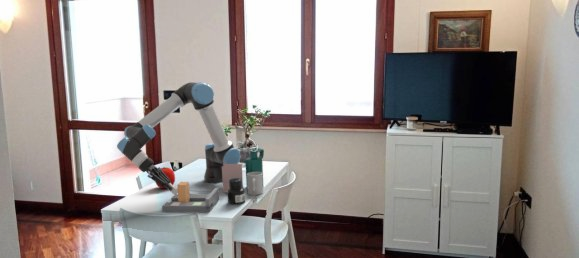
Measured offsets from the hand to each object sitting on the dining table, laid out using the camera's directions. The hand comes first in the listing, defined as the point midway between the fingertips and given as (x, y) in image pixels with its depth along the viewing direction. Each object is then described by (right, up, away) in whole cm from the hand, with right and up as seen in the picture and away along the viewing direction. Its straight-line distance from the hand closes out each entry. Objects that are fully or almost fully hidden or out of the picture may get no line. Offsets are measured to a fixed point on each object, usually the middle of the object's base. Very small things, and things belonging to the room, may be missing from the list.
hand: (177, 193), depth 236 cm
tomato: (-16, -2, +35) cm, 39 cm away
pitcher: (+38, -1, +32) cm, 50 cm away
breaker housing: (+7, -6, 0) cm, 10 cm away
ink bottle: (+30, -5, +4) cm, 31 cm away
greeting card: (+25, -2, +25) cm, 35 cm away
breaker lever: (+3, -5, 0) cm, 6 cm away
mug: (+39, -3, +18) cm, 43 cm away
